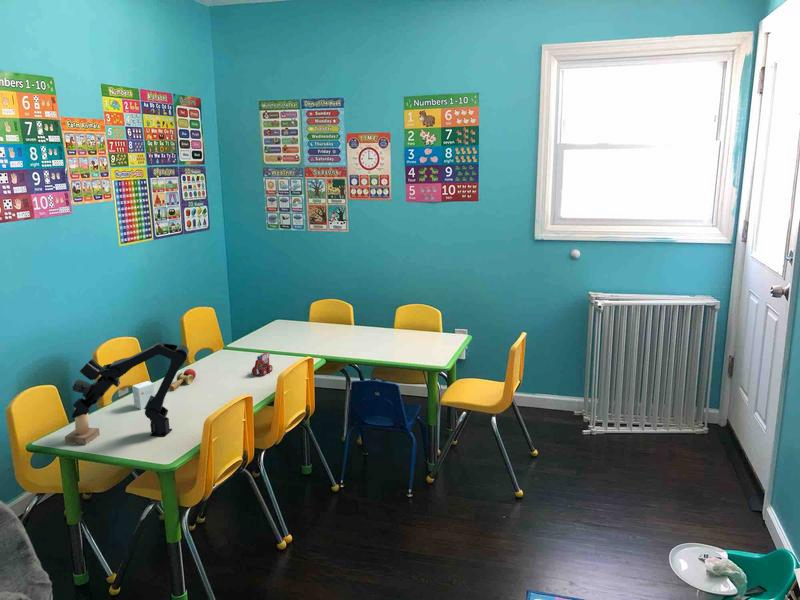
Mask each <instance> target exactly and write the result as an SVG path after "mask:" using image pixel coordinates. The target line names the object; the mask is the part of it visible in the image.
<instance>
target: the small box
mask: <svg viewBox="0 0 800 600" xmlns="http://www.w3.org/2000/svg"><path fill="white" fill-rule="evenodd" d="M131 387H132V395H133V403H134V408H136V407H137V409H138V408H139V409H138V410H140V409H142V410H145V409H144V408H145V406H146V404H147V402H148V400H149V398H150V396H151V395H152V396H153V397H154V396H155V395H156V390H155V389H156V388H155V383H154V382H152V381H149V380H146V381H143V382H140V383H136V384H133V385H132V386H131Z"/></svg>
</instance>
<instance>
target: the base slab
mask: <svg viewBox="0 0 800 600" xmlns="http://www.w3.org/2000/svg"><path fill="white" fill-rule="evenodd" d="M100 434H101V433H100V427H99V428H98V427H89V432H88V433H86V434H81V435H79V434H76V433H75V429H73V430H72V431H71V432H70V433H67V435H65V436H64V439H65V440H64V441H65V444H66V443H75V444H74V445H81V444H87V443H88V444H89V443H91V442H92V441H93V439H94V440H95V439H96V438H97V436H98V437H99V436H100ZM90 441H91V442H90ZM88 444H87V445H88Z"/></svg>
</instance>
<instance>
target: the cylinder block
mask: <svg viewBox="0 0 800 600" xmlns="http://www.w3.org/2000/svg"><path fill="white" fill-rule="evenodd" d="M75 409H76V408H75V407H74V410H75ZM74 425H75V426H74V427H75V428H74V430H75V433H76V434H79V435H81V434H86V433H88V432H89V428H90V427H89V412H88V413H87V414H86V415H84V414H83V415H80V416H78V417H76V418H74Z"/></svg>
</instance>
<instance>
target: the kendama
mask: <svg viewBox="0 0 800 600" xmlns="http://www.w3.org/2000/svg"><path fill="white" fill-rule="evenodd" d="M196 375H197V374H196V371H195V370H194V369H192V368H188V369H185V371H184V372H179V373H178V374H176V381H175V382H174V383H173V382H172V383H171V385H170V387H169V390H170V391H171V392H173V391H175V390H176V389H177V388H178V387H179V386H180V385H181V384H182V383H183V382H185V383H186V385H190V384H192V383H193V381H194V379H195V378H196V377H197V376H196Z"/></svg>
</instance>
